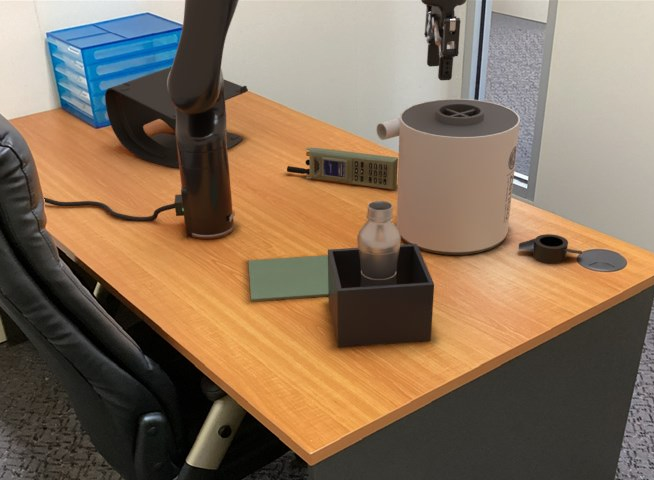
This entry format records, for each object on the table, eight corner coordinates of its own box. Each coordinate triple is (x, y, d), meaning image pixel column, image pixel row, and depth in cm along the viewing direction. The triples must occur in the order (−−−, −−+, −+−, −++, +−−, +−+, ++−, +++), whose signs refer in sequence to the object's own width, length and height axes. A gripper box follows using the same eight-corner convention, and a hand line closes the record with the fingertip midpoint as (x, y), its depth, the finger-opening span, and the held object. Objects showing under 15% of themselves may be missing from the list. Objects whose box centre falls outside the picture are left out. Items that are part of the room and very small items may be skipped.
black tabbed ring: (540, 240, 158) (542, 226, 156) (585, 258, 151) (588, 244, 150) (513, 253, 154) (515, 238, 152) (558, 272, 147) (561, 257, 146)
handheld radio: (393, 191, 178) (284, 177, 186) (397, 186, 181) (290, 172, 189) (394, 161, 175) (283, 147, 183) (399, 156, 177) (289, 142, 186)
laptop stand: (183, 121, 219) (176, 60, 211) (254, 138, 207) (249, 74, 199) (109, 152, 202) (99, 87, 194) (182, 172, 190) (174, 103, 182)
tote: (338, 347, 130) (337, 290, 124) (328, 303, 141) (327, 249, 135) (430, 340, 131) (434, 284, 125) (414, 297, 142) (416, 243, 136)
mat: (251, 301, 142) (250, 299, 142) (248, 262, 154) (248, 260, 153) (369, 293, 143) (369, 291, 143) (358, 255, 155) (358, 253, 154)
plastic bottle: (396, 333, 132) (400, 216, 121) (353, 330, 134) (354, 213, 123) (401, 312, 138) (405, 198, 127) (359, 309, 139) (360, 195, 128)
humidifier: (445, 268, 150) (454, 140, 137) (371, 228, 164) (373, 108, 151) (530, 235, 160) (546, 112, 147) (454, 199, 174) (462, 85, 161)
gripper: (413, -35, 144) (409, 62, 154) (433, -19, 133) (426, 85, 142) (457, -36, 145) (449, 60, 154) (479, -21, 133) (470, 83, 142)
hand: (438, 72), depth 148 cm, fingers open, 8 cm apart
